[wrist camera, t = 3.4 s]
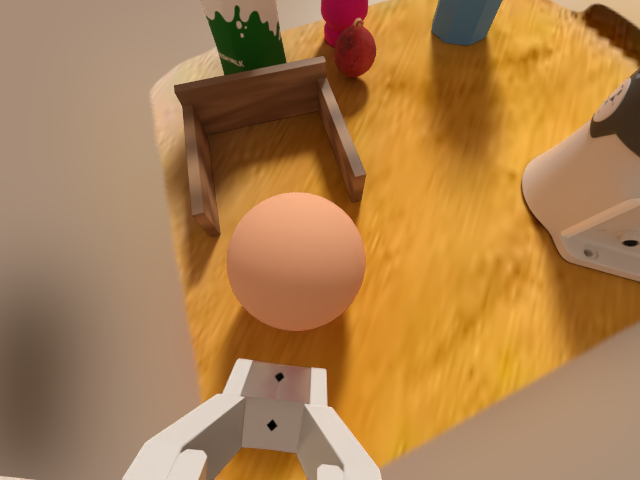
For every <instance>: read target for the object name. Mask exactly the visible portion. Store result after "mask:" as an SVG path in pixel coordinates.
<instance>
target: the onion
mask: <svg viewBox="0 0 640 480" xmlns="http://www.w3.org/2000/svg"><path fill="white" fill-rule="evenodd" d="M363 23H364V22H363V20H362V19H361V18H357V19H356V20H355V21H354V23H353V24H352V26H350V27H348V28H346V29H345V30H344V31H343V32H342V34H341V35H340V36H339V38H338V40H337V42H336V44H335V52H334V58H335V63H336V65H337V67H338V69H339V71H340V72H342V73H343V74H344V75H346V76H348V77H351V78H356V77H358V76H360V75H362V74H364V73H365V72H367V71H368V70H369V69H370V67H371V66H372V64H373V62H374V59H375V56H376V46H375V41H374V38H373V36H372V35H371V33H370V32H369V31H368V30H367V29H366V28H365V27H363Z"/></svg>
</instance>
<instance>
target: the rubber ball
mask: <svg viewBox="0 0 640 480" xmlns="http://www.w3.org/2000/svg"><path fill="white" fill-rule="evenodd" d="M364 272H365V250H364V245H363V242H362V238H361V236H360V233H359V231H358V229H357V227H356V226H355V224H354V223H353V221H352V220H351V218H350V217H349V216H348V215H347V214H346V213H345V212H344V211H343V210H342V209H341V208H340V207H338V206H337V205H335V204H334V203H333V202H331V201H329V200H327V199H325V198H323V197H320V196H317V195H313V194H308V193H297V192H294V193H285V194H280V195H276V196H273V197H271V198H268V199H266V200H264V201H262V202H261V203H259V204H257V205H256V206H255V207H253V208H252V209H251V210H250V211H249V212H248V213H246V215H245V216H244V217H243V218H242V219H241V221H240V222H239V223H238V225H237V227H236V229H235V230H234V232H233V235H232V237H231V240H230V243H229V247H228V252H227V273H228V277H229V281H230V284H231V287H232V290H233V292H234V294H235V296H236V298H237V299H238V301H239V302H240V303H241V305H242V306H243V307H244V308H245V309H246V310H247V311H248V312H249V313H250V314H251V315H252V316H253V317H255V318H256V319H257V320H259V321H261V322H263V323H265V324H266V325H269V326H271V327H274V328H277V329H282V330H286V331H305V330H310V329H315V328H317V327H320V326H323V325H325V324H327V323H329V322H331V321H333V320H334V319H335V318H337V317H338V316H340V315H341V314H342V313H343V312H344V311H345V310H346V309H347V308H348V307H349V305H350V304H351V303H352V302H353V300H354V298H355V297H356V295H357V294H358V291H359V289H360V287H361V285H362V281H363V278H364Z"/></svg>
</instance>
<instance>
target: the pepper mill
mask: <svg viewBox="0 0 640 480" xmlns="http://www.w3.org/2000/svg"><path fill="white" fill-rule="evenodd" d="M367 12H368V0H322V1H321V14H322V17H323V19H324V20H325V21H326V24H325V26H324V33H325V40H326V42H327V43H328V44H329V45H331V46H333V47H335V44H336V42H337V40H338V38H339V36H340V35H341V34H342V32H343V31H344V30H345V29H346V28H348V27H350V26H352V24H353V23H354V21H355V20H356V19H357V18H361V19H362V20H364V19H365V17H366V15H367Z"/></svg>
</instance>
